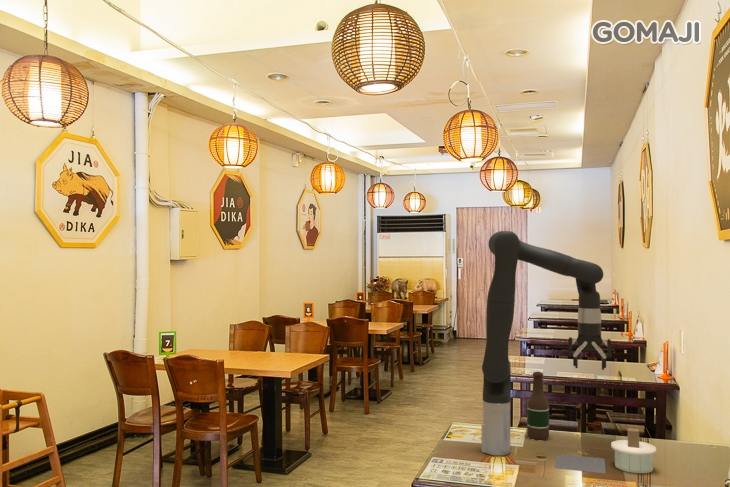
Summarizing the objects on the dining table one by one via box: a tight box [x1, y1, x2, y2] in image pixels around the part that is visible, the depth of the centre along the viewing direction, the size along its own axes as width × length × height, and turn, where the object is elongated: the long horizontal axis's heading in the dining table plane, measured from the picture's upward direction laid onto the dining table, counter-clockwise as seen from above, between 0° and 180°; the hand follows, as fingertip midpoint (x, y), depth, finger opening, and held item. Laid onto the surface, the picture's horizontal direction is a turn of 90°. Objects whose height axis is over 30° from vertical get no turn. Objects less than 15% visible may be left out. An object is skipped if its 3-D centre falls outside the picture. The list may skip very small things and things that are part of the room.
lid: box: [610, 427, 657, 456], centre depth 198 cm, size 13×13×6 cm
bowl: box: [614, 450, 654, 474], centre depth 198 cm, size 11×11×6 cm
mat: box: [554, 453, 606, 474], centre depth 201 cm, size 15×15×1 cm
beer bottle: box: [526, 371, 550, 441], centre depth 231 cm, size 8×8×24 cm
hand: (589, 368), depth 216 cm, fingers open, 8 cm apart
